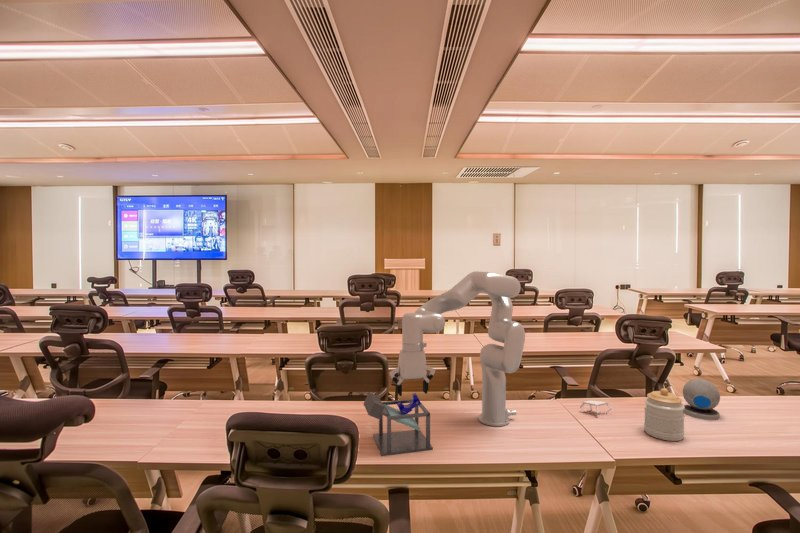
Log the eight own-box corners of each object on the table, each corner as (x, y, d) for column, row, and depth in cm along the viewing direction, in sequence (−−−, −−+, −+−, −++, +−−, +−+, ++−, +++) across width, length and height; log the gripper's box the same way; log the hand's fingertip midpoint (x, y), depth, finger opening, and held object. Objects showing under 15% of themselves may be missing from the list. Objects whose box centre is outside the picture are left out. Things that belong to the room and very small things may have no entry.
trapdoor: (407, 422, 155) (413, 411, 155) (416, 435, 143) (422, 423, 143) (363, 403, 150) (368, 391, 151) (368, 415, 139) (374, 403, 139)
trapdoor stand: (419, 431, 158) (419, 398, 158) (432, 449, 143) (433, 413, 142) (373, 436, 153) (373, 402, 153) (381, 456, 138) (381, 418, 138)
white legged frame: (590, 418, 170) (591, 407, 170) (579, 411, 179) (579, 400, 179) (616, 416, 172) (616, 405, 172) (603, 409, 181) (603, 398, 180)
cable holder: (403, 416, 148) (397, 406, 148) (401, 413, 152) (396, 403, 151) (421, 404, 149) (416, 395, 149) (420, 401, 153) (415, 392, 152)
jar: (689, 444, 147) (690, 395, 147) (649, 439, 151) (650, 392, 151) (677, 429, 160) (677, 384, 159) (639, 425, 164) (640, 381, 163)
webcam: (717, 412, 177) (718, 378, 177) (721, 422, 167) (722, 386, 166) (681, 406, 184) (682, 373, 184) (683, 415, 173) (683, 380, 173)
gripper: (431, 343, 154) (431, 388, 154) (387, 346, 150) (387, 392, 150) (438, 348, 147) (438, 395, 147) (391, 350, 142) (391, 399, 143)
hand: (412, 393), depth 149 cm, fingers open, 9 cm apart
